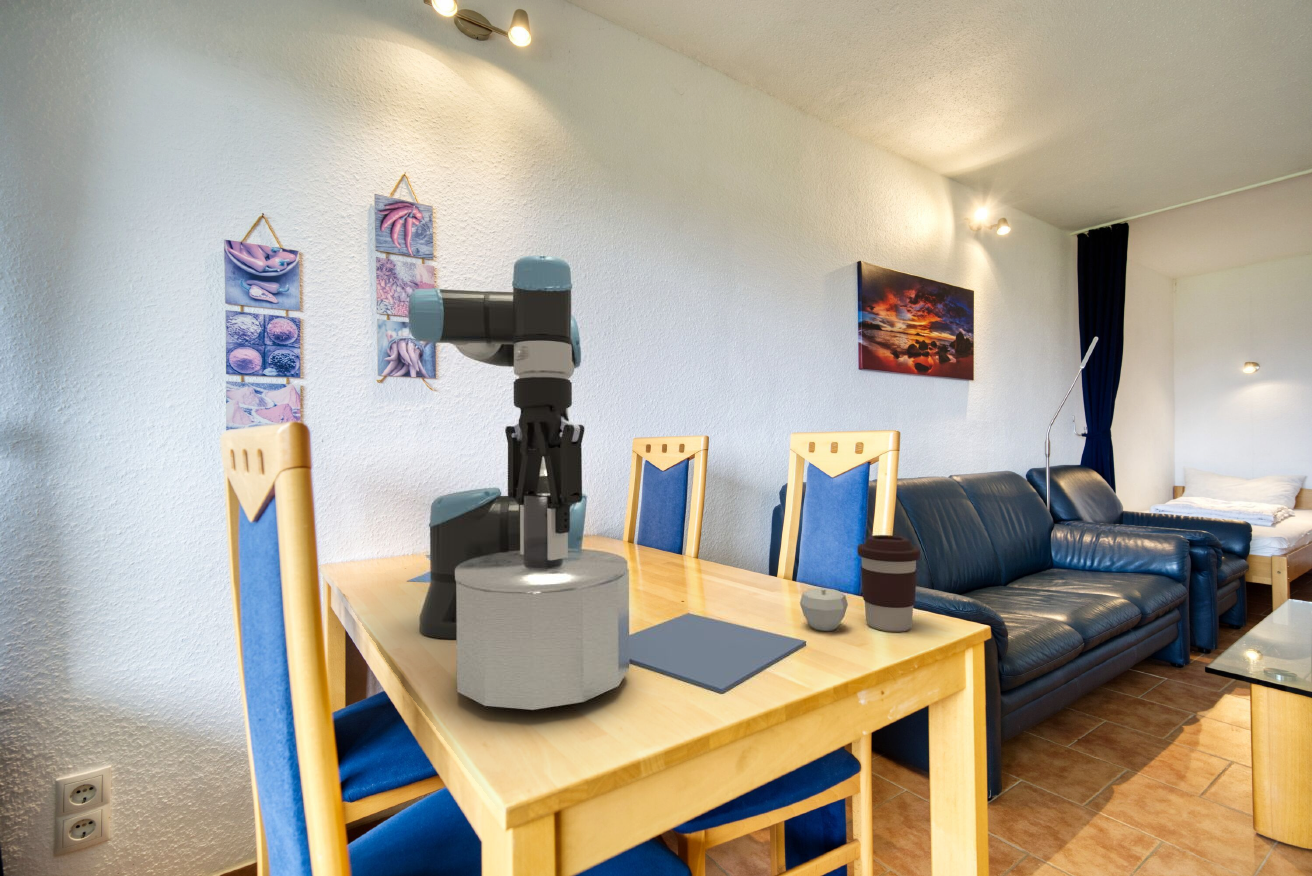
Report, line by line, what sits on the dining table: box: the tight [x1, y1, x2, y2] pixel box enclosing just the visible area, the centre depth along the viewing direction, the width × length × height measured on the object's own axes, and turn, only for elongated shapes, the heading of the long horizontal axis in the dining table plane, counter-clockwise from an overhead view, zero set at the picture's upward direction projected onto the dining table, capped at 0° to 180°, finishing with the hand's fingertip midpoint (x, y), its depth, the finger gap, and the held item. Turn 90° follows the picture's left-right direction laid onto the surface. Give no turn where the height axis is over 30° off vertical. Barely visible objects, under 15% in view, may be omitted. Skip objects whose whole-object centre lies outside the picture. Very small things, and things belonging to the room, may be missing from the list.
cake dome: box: [455, 493, 630, 711], centre depth 78 cm, size 22×22×23 cm
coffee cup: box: [857, 534, 921, 633], centre depth 101 cm, size 10×10×15 cm
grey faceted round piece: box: [799, 587, 849, 632], centre depth 100 cm, size 8×8×7 cm
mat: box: [629, 612, 807, 694], centre depth 91 cm, size 23×23×1 cm
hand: (543, 555), depth 78 cm, fingers closed on cake dome, 5 cm apart
